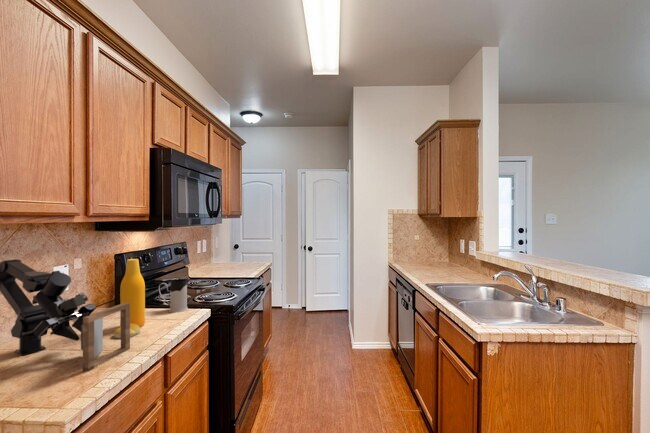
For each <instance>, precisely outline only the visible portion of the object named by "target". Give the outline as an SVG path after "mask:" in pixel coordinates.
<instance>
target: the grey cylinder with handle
mask: <svg viewBox="0 0 650 433" xmlns="http://www.w3.org/2000/svg"><path fill="white" fill-rule="evenodd" d="M161 285H165V286H166V291H167V292H169V301H168V300H167V299H165V298H164V297H163V295H162V293H161V289H160V287H161ZM158 292H159V296H160V297H161V298H162V300H163V301H165V302H167V304H168V305H169V310H168V311H169V312H170V313H180V312H181V313H182V312H185V311H187V310H189V307H188V282H187V279H186V278H179V279H178V278H176V279H171V280H170V290H169V286H168V284H167V283H166V282H162V283H160V284H159V286H158Z"/></svg>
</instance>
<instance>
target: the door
mask: <svg viewBox="0 0 650 433" xmlns="http://www.w3.org/2000/svg"><path fill="white" fill-rule="evenodd" d="M100 311H103V310H102V309H101V310H97V311H96V312H95V313H97V312H100ZM103 318H104V317H103ZM103 318H100V319H97V320H95V321H94V360H95V359H96V358H97V357H98V356H99V355H100V354H101V352H102V351H104V335H103V334H104V331H103V330H104V329H103V328H104V319H103ZM80 350H81V351H83V325H81V332H80Z"/></svg>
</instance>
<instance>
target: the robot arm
mask: <svg viewBox="0 0 650 433" xmlns="http://www.w3.org/2000/svg"><path fill="white" fill-rule="evenodd" d="M16 279H17V280H19V281H20V282H22V288H23V289H24V290H25V291H26V292H28V294H31V293H36V292H37V293H36V295H33V296H32V298H33V299H32V301H31V300H30V299H29V297H28V296H27V294H25V292H24V291H23V290H22V288H21V287H20V286H19V284H18V283H17V281H16ZM71 282H72V278H71V276H69V275H68V274H66V273H63V272H61V271H60V270H54V271H51V272H50V273H49V272H47V271H37V270H35V269H33V268H32V267H30V266H28V265H27V264H25V263H23V262H22V260H21V259H17V258H15V259H6V260H3V261H0V293H1V294H2V296H3V297H4V299H5V300H6V302H7V303H8V305H10V307H11V309H12V310H13V311H14V313H15V314H16V320H15V322H14V325H13V327H12V328H11V329H10V334H11V336H12V337H13V338H17V339H19V341H18V342H19V343H18V349H15V350H14V352H15V353H16V354H19V355H21V356H26V355H29V354H33V353H35V352H39V351H43V350H46V349H47V348H46V346H44V345H42V337H44V336H46V335H47V334H48V331H49V329H51V332H50V334H49V335H51V336H53V335H55V336H59V337H63V338H67V339H70V340H73V341H76V342H77V341H79V340H80V336H79V335H78V333H76V331H75V330H74V329H76V330H77V331H79V332H80V333H81V325H83V317H86V316H89V315H92V314H93V313H94V311H95V310H96V309H97V306H95V305H94V304H93V303H89V304H87V301H88V299H89V298H88V296H87V294H85V293H84V292H80V293H78V294H76V295H75V297H72V298H65V299H64V298H63V297H62V296H61V295H63V294H64V292H65V291H66V289H67V288H68V287H69V286H70V284H71ZM35 304H36V305H35ZM85 304H86V305H85ZM79 307H80V308H79ZM70 321H71V322H72V324H71V323H70ZM70 324H71V325H70ZM71 326H72V327H73V328H72V327H71Z"/></svg>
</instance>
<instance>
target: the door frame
mask: <svg viewBox="0 0 650 433" xmlns="http://www.w3.org/2000/svg"><path fill="white" fill-rule="evenodd" d="M99 311H100V310H99ZM120 311H121V338H120V347H118V349H115V350H114V351H111V352H109V353H108V354H106V355H104V356H102V357H101V358H99V359H96V360H95V359H94V321H95V320H97V319H100V318H105V317H108V316H110V315H113V314H115V313H118V312H120ZM96 312H97V313H96ZM96 312H95V313H91V314H90V315H89V316H86V317H83V350H82V371H83V372H91V371H92V370H94V369H95V367H96V368H97V367H99V366H101V365H102V363H103V364H105V363H106V362H108V361H110V360H111V358H112V359H114V358H116V357H117V356H119V355H121V354H122V353H124V352H126V351H128V350H130V348H131V337H130V303H123V304H117V305H113V306H111V307H108V308H105V309H104V310H103V311H100V312H98V311H96ZM115 356H116V357H115ZM113 357H114V358H113ZM109 359H110V360H109ZM107 360H108V361H107ZM105 361H106V362H105ZM104 362H105V363H104ZM100 364H101V365H100ZM98 365H99V366H98Z"/></svg>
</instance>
